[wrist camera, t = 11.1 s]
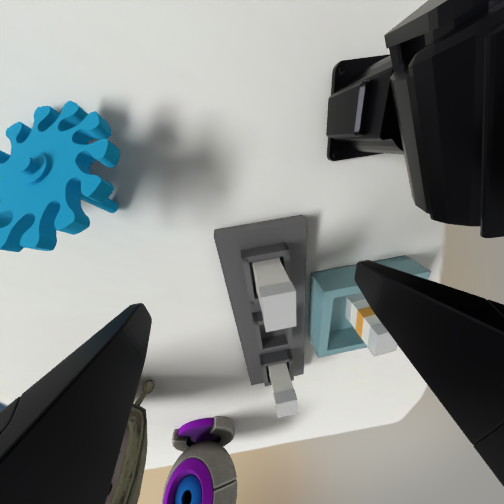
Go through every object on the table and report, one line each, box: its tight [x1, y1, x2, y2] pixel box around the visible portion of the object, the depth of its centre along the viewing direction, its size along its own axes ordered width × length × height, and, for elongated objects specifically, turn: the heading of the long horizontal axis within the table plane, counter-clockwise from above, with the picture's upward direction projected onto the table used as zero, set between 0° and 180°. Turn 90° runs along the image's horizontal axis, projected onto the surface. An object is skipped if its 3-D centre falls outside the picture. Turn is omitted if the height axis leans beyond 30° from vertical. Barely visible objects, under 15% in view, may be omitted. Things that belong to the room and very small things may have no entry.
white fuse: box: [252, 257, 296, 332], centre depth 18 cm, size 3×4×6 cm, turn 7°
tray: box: [309, 256, 431, 358], centre depth 26 cm, size 12×12×4 cm
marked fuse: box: [345, 293, 398, 356], centre depth 24 cm, size 3×4×6 cm, turn 13°
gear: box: [0, 101, 120, 252], centre depth 14 cm, size 11×6×10 cm
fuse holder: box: [214, 215, 307, 386], centre depth 25 cm, size 9×28×3 cm, turn 7°
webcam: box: [162, 417, 237, 504], centre depth 35 cm, size 13×13×15 cm
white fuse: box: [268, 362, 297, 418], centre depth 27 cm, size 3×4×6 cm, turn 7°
